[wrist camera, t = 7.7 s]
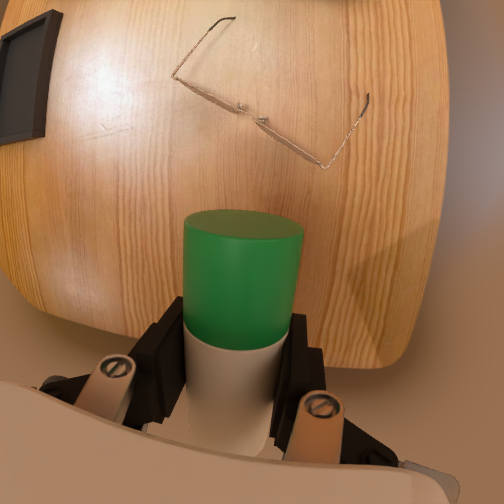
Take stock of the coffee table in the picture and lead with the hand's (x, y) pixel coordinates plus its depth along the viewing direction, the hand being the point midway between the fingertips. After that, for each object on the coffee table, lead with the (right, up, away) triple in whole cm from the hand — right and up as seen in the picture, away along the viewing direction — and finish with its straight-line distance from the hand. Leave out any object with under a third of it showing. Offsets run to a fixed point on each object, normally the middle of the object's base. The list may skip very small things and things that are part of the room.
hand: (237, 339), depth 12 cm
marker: (+1, 0, +1) cm, 1 cm away
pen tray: (-27, +24, +12) cm, 38 cm away
